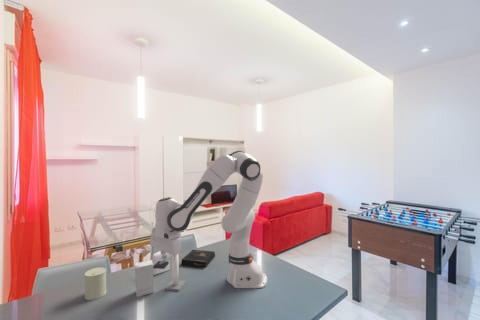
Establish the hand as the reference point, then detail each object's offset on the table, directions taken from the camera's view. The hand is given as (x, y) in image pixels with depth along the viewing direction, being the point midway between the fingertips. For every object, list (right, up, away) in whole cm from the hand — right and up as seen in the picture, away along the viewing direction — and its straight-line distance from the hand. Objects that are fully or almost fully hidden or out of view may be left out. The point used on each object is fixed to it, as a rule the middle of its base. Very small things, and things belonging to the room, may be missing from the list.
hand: (164, 259), depth 110 cm
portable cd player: (+10, -19, +39) cm, 45 cm away
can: (-35, -19, +2) cm, 40 cm away
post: (+3, -18, +9) cm, 21 cm away
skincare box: (-11, -19, +4) cm, 22 cm away
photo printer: (-10, -19, +25) cm, 33 cm away
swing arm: (+2, 0, +1) cm, 2 cm away
